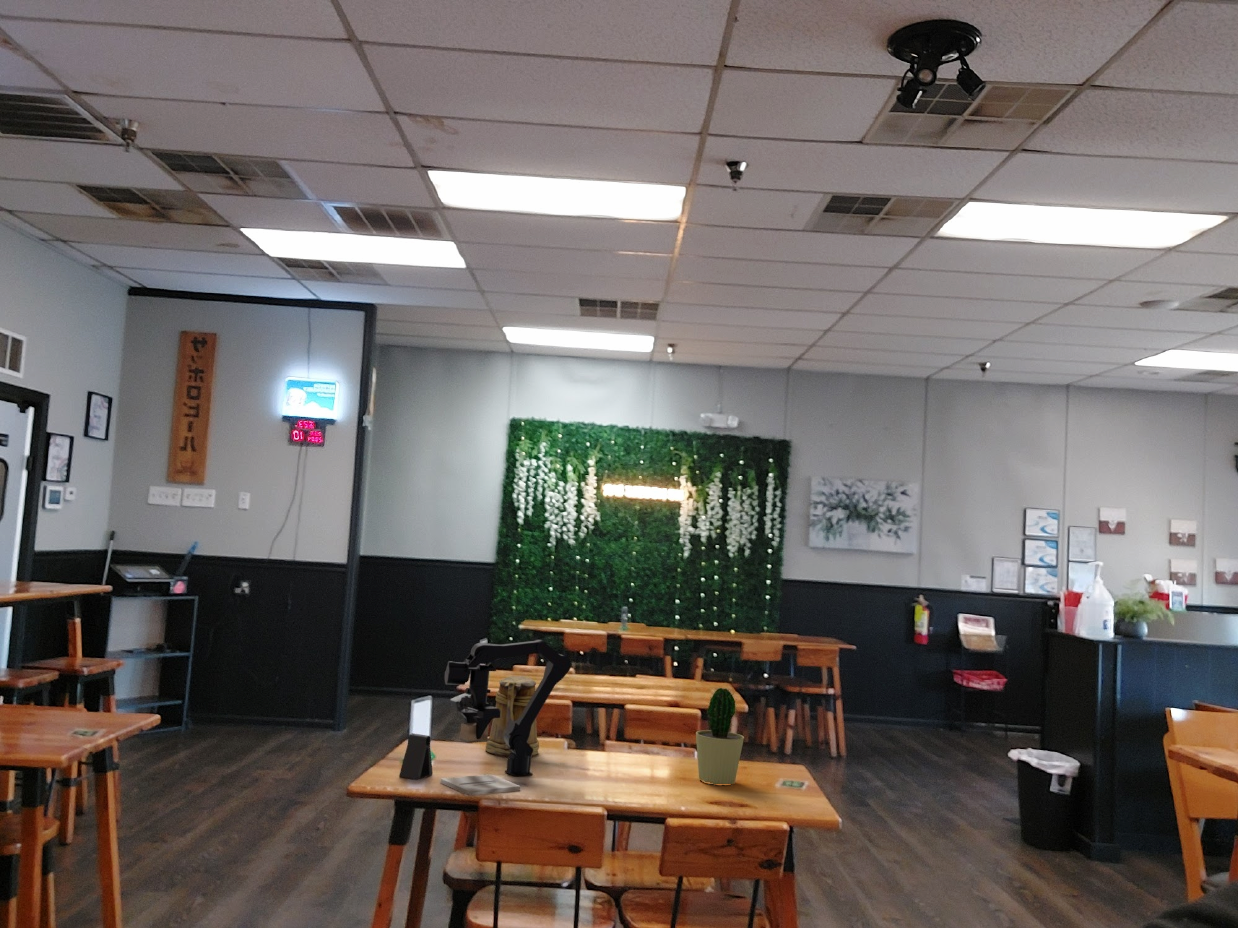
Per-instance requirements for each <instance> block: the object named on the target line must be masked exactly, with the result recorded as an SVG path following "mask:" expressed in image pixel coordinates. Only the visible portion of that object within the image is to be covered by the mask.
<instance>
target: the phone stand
mask: <svg viewBox="0 0 1238 928" xmlns="http://www.w3.org/2000/svg"><path fill="white" fill-rule="evenodd" d="M431 741H432V739H431V736H430V735H426V734H424V735H423V734H419V733H412V732H411V733H409V735H408V737H407V745H406V749H405V752H404V753H405V754H404V757H403V760H402V764H401V768H400V771H399V775H398V777H399V778H402V779H407V780H408V779H409V780H415V781H419V780H422V779H425V778H428V777H431V776H433V775H434V773H433V764H432V752H431V751H432V750H431Z"/></svg>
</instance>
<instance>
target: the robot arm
mask: <svg viewBox="0 0 1238 928" xmlns="http://www.w3.org/2000/svg"><path fill="white" fill-rule="evenodd" d="M536 654H538V655H539V656H540V657H541V658H542V659H543V660H544V661H545V662H546V665H545V667H544V673H543V676H542V678H541V681H540V682H539V684H538V686H537V687H536V688H535V692H534V694H533V696H532V697H531V699H530V701H529V703H528V704H527V706H526V708H525V709H524V711H523V713H522V714H521V716H520V717H519V718H518V719H517V720H516V721H515V722H514V721H513V720H510V722H509V725H508V727H507V728H506V729H505V730H504V731H505V734H504V741H505V743H506V744H507V745H508V746H509V749H510V751H512V752H511V753H509V757H508V758H507V762H506V770H504V773H507V774H509V775H512V776H514V777H524V776H525V777H526V776H533V775H534V773H533V772H531V762H532V756H531V755H532V753H533V749H532V747H531V746H530V745H529V744H528V743H527V741H528V738H529V736H530V731H531V726H532V724H533V722H534V720H535V719H536V720H537V717H538V715H539V713H540V712H541V710H542V708H543V707H544V705H545V703H546V702H547V700H548V698H549V696H550V695H551V693H552V691H553V689H554V687H556V685H557V684H558V683H560V681H561V680H563V679H564V678H565V676H566V675H567V674H568V673H569V672H570V670H571V668H572V662H571V659H570V658H569V657H568V656H565V655H563V654H562V653H561V654H560V653H558V652H557V651H556V650H555V649H553V648H552V647H551V646H550V645H548V644H547V642H546V641H543V640H542V639H535V640H533V641H531V640H530V641H522V642H521V641H520V642H513V643H505V644H497V643H486V642H485V643H484V642H478V643H475V644H474V645H473V646H472V648H471V650H470V653H469V655H468V656H467V657H466V658H465V659H464V661H463V662H459V661H458V662H457V661H453V660H452V661H448V662H447V666H446V669H445V671H444V684H445V685H456V686H458V685H459V686H465V685H466V683H468V682H469V685H468V687H466V688H465V690H464V693H462V694H458V695H456V696H454V697H452V698H450V701H449V702H450V706H451V709H452V710H453V711H454V710H455V711H456V712H458V713H459V714H460V715H461V716H462V717H463V720H464V721H465V722H464V723H476V738H477V739H480V738H481V736H482V735H483V733H484V731H485V729H486V728H487V726H488V725H490V723H491V722H492V721H493V719H494V718H500V717H501V711H500V709H499V708H496V706H490V703H489V702H487V701H488V694H491V689H489V681H490V672H497V669H496V668H495V666H494V665H493V663H492V662H496V661H498V660H501V659H503V658H510V657H517V656H518V657H519V656H528V655H536Z"/></svg>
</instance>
